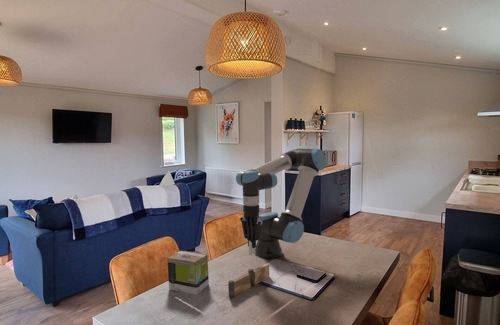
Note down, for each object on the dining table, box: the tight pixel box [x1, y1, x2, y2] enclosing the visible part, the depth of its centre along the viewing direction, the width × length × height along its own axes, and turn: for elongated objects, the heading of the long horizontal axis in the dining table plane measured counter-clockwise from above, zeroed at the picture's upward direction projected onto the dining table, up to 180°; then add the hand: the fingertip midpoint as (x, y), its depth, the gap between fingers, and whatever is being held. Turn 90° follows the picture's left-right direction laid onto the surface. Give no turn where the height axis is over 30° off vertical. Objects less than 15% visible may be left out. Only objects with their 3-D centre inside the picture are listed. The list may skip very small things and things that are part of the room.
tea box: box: [167, 250, 210, 296], centre depth 136 cm, size 15×10×15 cm, turn 65°
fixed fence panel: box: [227, 272, 252, 299], centre depth 130 cm, size 2×12×7 cm, turn 137°
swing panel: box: [247, 262, 270, 288], centre depth 139 cm, size 13×2×7 cm, turn 137°
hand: (252, 254), depth 144 cm, fingers closed
